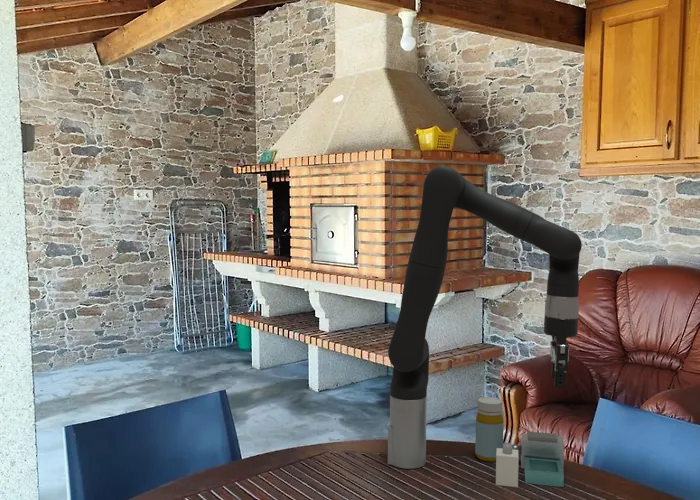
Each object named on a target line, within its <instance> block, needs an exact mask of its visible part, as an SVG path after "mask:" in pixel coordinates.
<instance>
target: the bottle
mask: <svg viewBox="0 0 700 500" xmlns="http://www.w3.org/2000/svg"><path fill="white" fill-rule="evenodd" d="M504 426H505V425H504V416H503V401H502V399H500V398H497V397H490V396H483V397H479V398H478V399H477V413H476V416H475V445H474V446H475V448H474V449H475V456H476V457H477V459H479V460H480V461H484V462H489V463H491V462H495V463H496V451H497V448H503V443H504Z"/></svg>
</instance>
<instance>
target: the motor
mask: <svg viewBox="0 0 700 500" xmlns="http://www.w3.org/2000/svg"><path fill="white" fill-rule="evenodd" d="M520 434H521V435H520V437H521V438H520V439H521V440H520V441H521V442H520V444H515V443H514V444H513V443H511V444H512V449H513V450H518V456H520V467H521V469H523V470H524V481H525V484H530V485H540V486H551V487H558V488H560V487H561V488H564V486H565V485H564V483H565V474H564V473H565V472H564V468H565V467H564V464H565V463H564V462H565V461H564V459H565V456H564V455H565V442H564V439H563V436H562V435H557V433H554V432H553V433H551V432H550V433H548V432H540V431H527V432H521V433H520Z"/></svg>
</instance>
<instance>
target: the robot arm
mask: <svg viewBox="0 0 700 500" xmlns="http://www.w3.org/2000/svg"><path fill="white" fill-rule="evenodd" d="M421 197H422V198H421V205H420V206H421V207H420V213H419V214H420V216H419V220H418V225H417V229H416V232H415V235H414V238H413V241H412V245H411V250H410V253H409V257H408V262H407V267H406V271H405V277H404V282H403V287H402V295H401V300H400V301H401V302H400V307H399V308H400V310H399V315H398V316H397V317H398V319H397V321H396V325H395V328H394V331H393V334H392V337H391V340H390V343H389V344H388V345H389V346H388V349H387V351H388V352H387V353H388V354H387V355H388V359H389V362H390V364H391V365H392V378H391V382H390V386H389V425H388V427H387V465H389V466H390V465H392V466H394V467H396V468H401V469H405V470H406V469H410V470H411V469H413V470H414V469H419V468H421V467H422V468H423V467H424V466H425V465H426V460H427V410H428V409H427V407H428V406H427V404H428V399H427V397H428V396H427V395H428V385H429V377H430V376H429V370H430V345H429V343H428V342H429V341H428V340H427V339H426V334H427V327H428V323H429V319H430V316H431V313H432V311H433V309H434V307H435V304H436V301H437V298H438V297H439V293H440V291H441V287H442V284H443V280H444V276H445V271H446V266H447V261H448V249H449V247H448V245H449V227H450V224H451V223H450V222H451V219H452V216H453V212H454V208H456V209H460V210H462V211H466V212H468V213H470V214H473V215H474V216H476V217H478V218H481V219H482V220H483V221H485V222H488V223H489V224H491V225H492V226H494V227H496V228H497V229H499V230H501V231H503V232H504V233H506V234H508V235H511V236H512V237H515V238H517V239H519V240H520V241H523V242H525V243H528V244H529V245H530V244H531V245H533V246H535V247H536V248H538V249H540V250H542V251H543V252H545V253H547V254H548V258H549V259H548V260H549V261H548V265H549V266H548V268H549V270H548V274H547V275H548V276H547V281H546V282H547V286H546V297H545V298H546V299H545V305H544V319H543V322H544V323H543V333H544V334H545V335H548V336H550V337H551V340H550V344H549V345H550V358H551V359H550V361H551V378H552V379H554V388H556V389H565V387H566V374H567V372H568V370H569V367H568V366H569V365H568V364H569V358H570V357H569V354H570V353H569V351H570V344H569V342H567V341H568V340H567V339H568V338H575V337H577V336H578V333H579V332H578V331H579V330H578V328H579V311H580V303H579V292H580V277H579V267H580V266H579V265H580V263H579V262H580V253H581V251H582V240H581V238H580V236H579V235H578V234H577V233H576V232H575V231H572V230H570V229H568V228H567V227H563V226H562V225H558V224H557V223H554V222H552V221H549V220H547V219H545V218H544V217H542V215H539V214H537V213H535V212H533V211H531V210H529V209H527V208H525V207H522V206H521V205H519V204H516V203H513V202H511V201H509V200H507V199H503V198H500V197H498V196H496V195H494V194H491V193H489V192H487V191H485V190H483V189H481V188H480V187H478V186H476V185H475V184H474V183H472V182H470V181H469V180H467V179H466V178H465V177H464V176H462V174H460V172H459V171H457V170H456V169H454V168H452V167H449V166H446V165H440V166H436V167H434V168H432V169H431V170H430V171H429V172H428V173H427V175H426V176H425V178H424V181H423V189H422V196H421Z"/></svg>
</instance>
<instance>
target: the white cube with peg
mask: <svg viewBox="0 0 700 500" xmlns="http://www.w3.org/2000/svg"><path fill="white" fill-rule="evenodd" d="M512 444H513V443H510V442H503V448H497V451H496V461H495V486H502V487H504V486H505V487H513V488H519V455H518V450H513V449H512Z"/></svg>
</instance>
